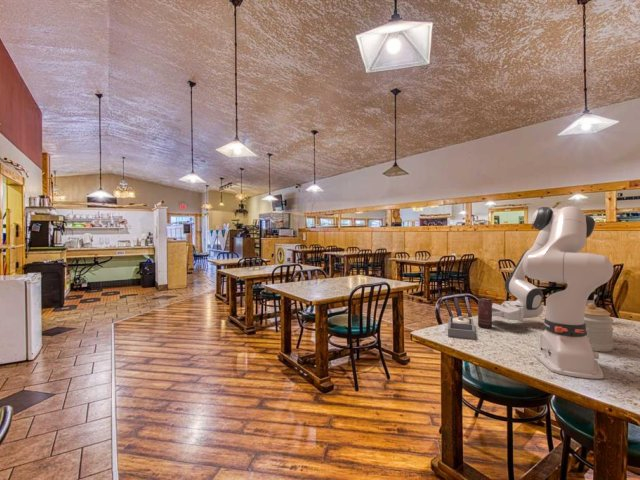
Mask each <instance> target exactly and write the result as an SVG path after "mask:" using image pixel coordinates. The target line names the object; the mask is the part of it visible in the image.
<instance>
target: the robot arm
mask: <svg viewBox="0 0 640 480" xmlns="http://www.w3.org/2000/svg"><path fill="white" fill-rule="evenodd" d="M531 225H532V227H533V228H534V229H535V230H538V231H539V232H538V234H537V236H536V239H535V241H534V243H533V245H532V246H531V247H530V248H527V250H525V251H524V252H523V254H522V255H521V257H520V259H519V260H518V262H517V264H516V265H515V267H514V269H513V270H512V272H511V274H510V275H509V276H508V277H507V279H506V281H505V282H504V289H505V291H506V292H507V293H508V294H510V295H512V296H514V298H517V299H516V300H504V301H503V302H502V303H501V304H498V303H493V304H492V312H491V315H492V317H499V318H502V319H506V320H508V321H519V322H522V321H524V319H531V318H537V317H539V316H540V315H542V314H543V311H544V306H543V304H542V302H543V300H544V294H543V293H544V292H543V291H542V289H541V288H540V287H537V286H536V285H534V284H532V283H531V282H529V281H528V280H526V277H528V278H529V279H533V280H535V281H541V282H549V283H550V282H551V283H562V284H563V283H564V284H567V287H566V288H565V289H564V290H559V291H556V292H554V293H551V294H550V295H549V296H547V298H546V300H545V318H544V322H543V325H544V330H543V331H542V332H541V333H539V339H538V340H539V341H538V351H535V352H533V357H535V359H537V360H538V361H539V362H540V363H542V364H543V366H545V367H546V368H547V369H548V370H550V371H551V372H553V373H556V374H560V375H563V376H564V375H565V376H569V377H576V378H582V379H583V378H584V379H595V380H597V379H599V380H600V379H604V376H605V375H604V373H603V370H602V368H601V366H600V364H599V361H598V360H599V359H600V353H599V351H592V349H594V345H590V342H589V338H588V337H587V336H586V335H587V328H586V324H585V323H584V315H585V305H586V301H587V299H588V297H589V295H590V294H591V292H592V291H593V290H595V291H596V289H597V288H598V287H600V286H602V285H604V284H606V283H608V282H609V281H610V280H611V278H612V277H613V275H614V265H613V263H612V261H611V260H610V258H608V257H607V256H606V255H602V254H598V253H597V254H596V253H591V252H581V251H582V250H583V249H584V248H585V246H586V244H587V239H588V238H589V237H591V235H592V234H593V232H594V231H595V227H596V226H595V225H596V221H595V219H594V218H593V217H592V216H590V215H587V214H585V213H584V211H583V209H581V208H579V207H578V206H572V205H570V206H564V207H561V208H556V207H555V208H552V207H550V206H540V207H538V208H537V209H536V210H535V211H534V213H533V214H532V217H531Z"/></svg>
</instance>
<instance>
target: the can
mask: <svg viewBox="0 0 640 480" xmlns="http://www.w3.org/2000/svg"><path fill="white" fill-rule="evenodd" d="M493 302H494V301H493V299H492V298H489V297H479V298H478V299H477V326H478V327H479V328H482V329H491V328H492V327H493V316H492V315H491V312H492V304H493Z"/></svg>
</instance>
